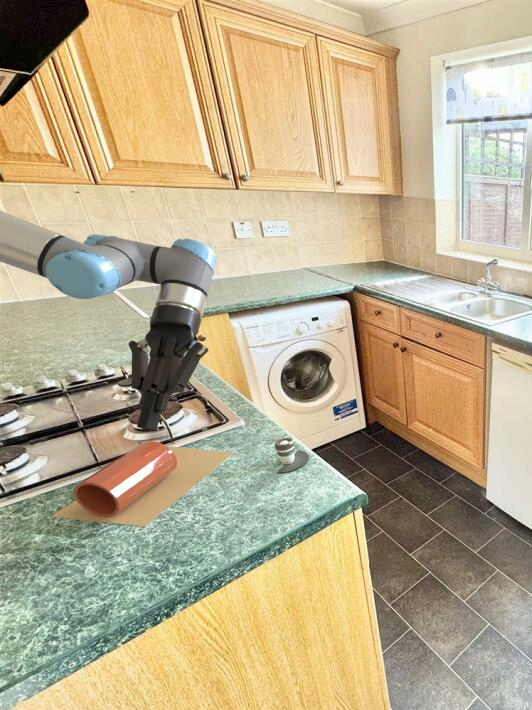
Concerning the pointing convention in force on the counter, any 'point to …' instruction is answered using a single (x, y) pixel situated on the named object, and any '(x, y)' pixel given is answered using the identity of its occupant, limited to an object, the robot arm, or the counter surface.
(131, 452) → the tumbler
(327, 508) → the counter surface
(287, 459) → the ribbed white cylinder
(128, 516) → the mat
